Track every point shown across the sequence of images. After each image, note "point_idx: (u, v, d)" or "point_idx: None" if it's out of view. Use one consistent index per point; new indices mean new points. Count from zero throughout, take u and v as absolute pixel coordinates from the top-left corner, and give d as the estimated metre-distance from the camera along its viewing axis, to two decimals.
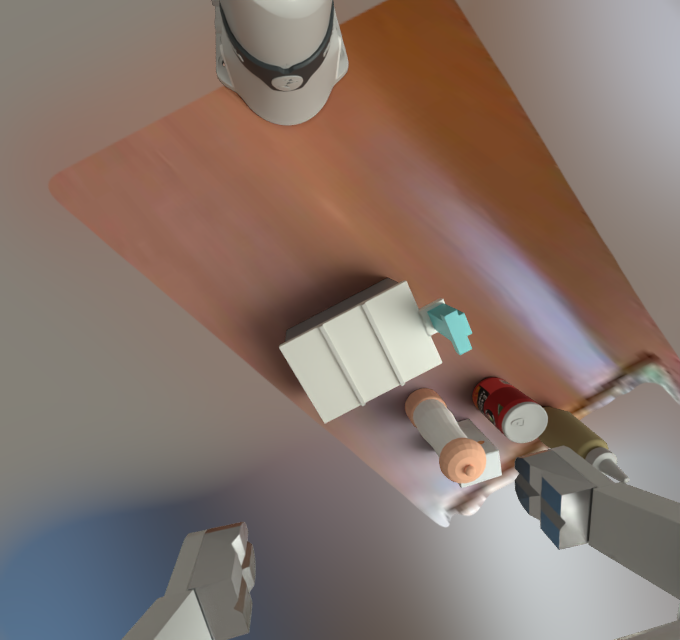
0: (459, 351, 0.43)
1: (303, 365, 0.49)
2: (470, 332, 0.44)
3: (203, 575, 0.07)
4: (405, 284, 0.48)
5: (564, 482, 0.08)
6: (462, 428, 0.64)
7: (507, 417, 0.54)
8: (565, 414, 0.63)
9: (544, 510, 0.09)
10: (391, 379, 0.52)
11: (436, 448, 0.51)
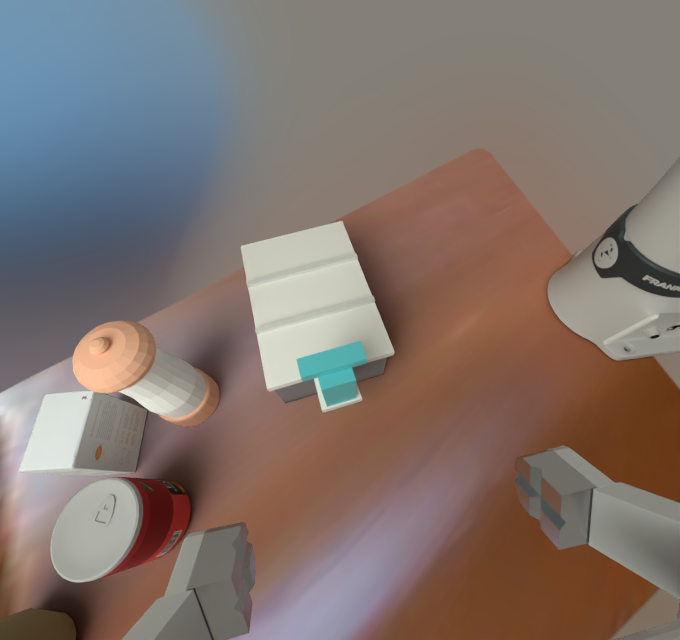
0: (302, 358, 0.29)
1: (315, 237, 0.46)
2: (323, 387, 0.29)
3: (203, 575, 0.07)
4: (390, 350, 0.37)
5: (564, 482, 0.08)
6: (128, 448, 0.40)
7: (129, 485, 0.30)
8: None
9: (544, 510, 0.09)
10: (267, 320, 0.40)
11: None
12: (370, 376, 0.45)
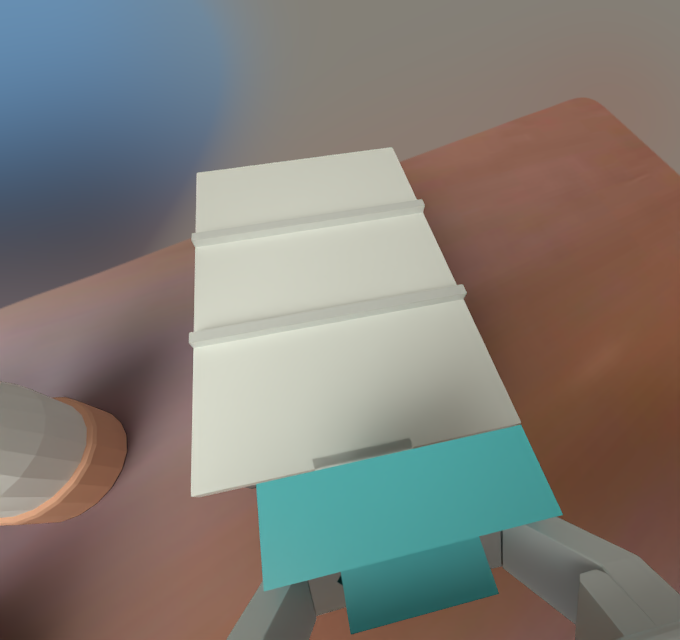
0: (281, 484, 0.07)
1: (341, 169, 0.24)
2: (359, 619, 0.07)
3: None
4: (510, 418, 0.15)
5: None
6: None
7: None
8: None
9: None
10: (222, 317, 0.18)
11: None
12: None
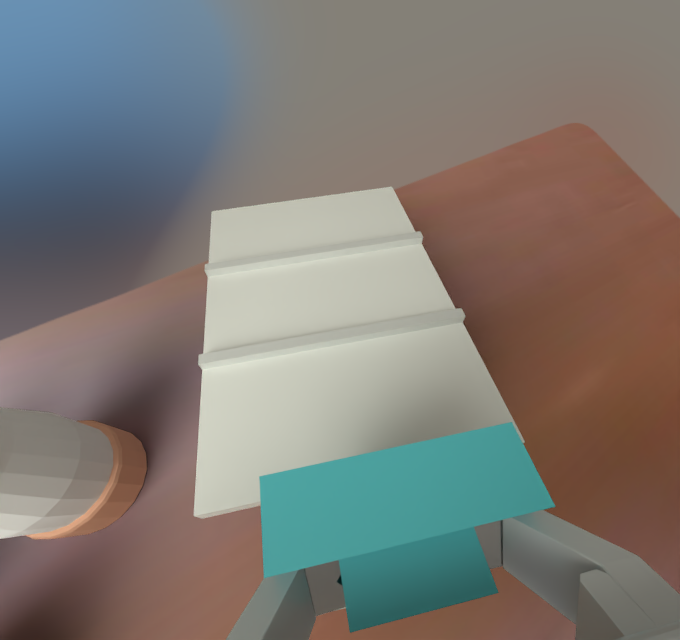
0: (282, 476, 0.07)
1: (345, 206, 0.26)
2: (358, 618, 0.07)
3: None
4: None
5: None
6: None
7: None
8: None
9: None
10: (231, 340, 0.19)
11: None
12: None
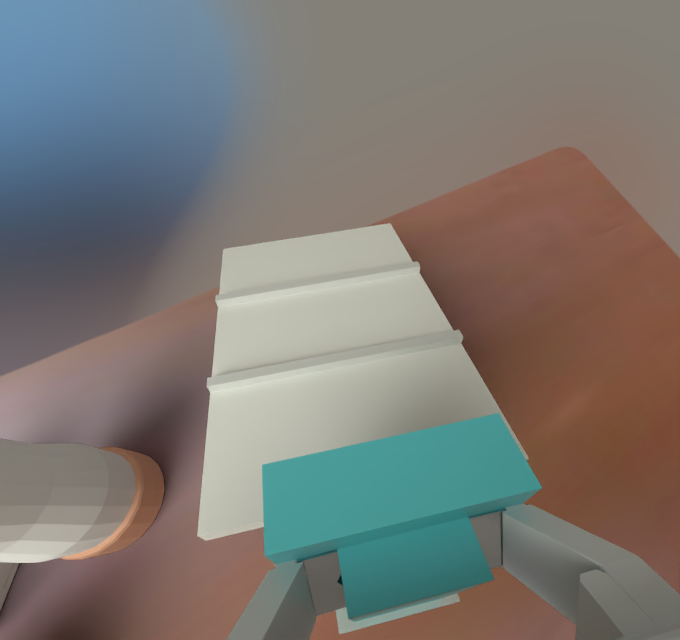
0: (283, 465, 0.08)
1: (346, 241, 0.28)
2: (356, 604, 0.07)
3: None
4: None
5: None
6: None
7: None
8: None
9: None
10: (238, 364, 0.19)
11: None
12: None
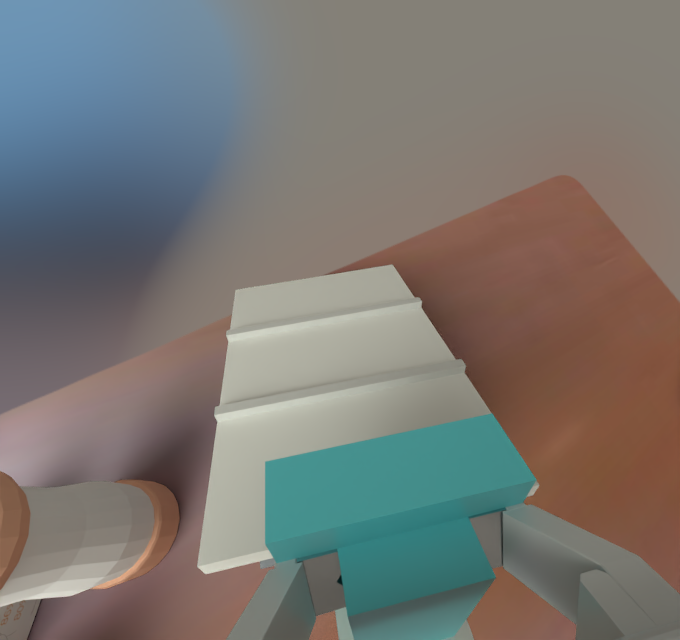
0: (285, 462, 0.08)
1: (351, 281, 0.29)
2: (356, 602, 0.07)
3: None
4: None
5: None
6: (7, 629, 0.23)
7: None
8: None
9: None
10: (246, 395, 0.20)
11: (34, 488, 0.18)
12: None
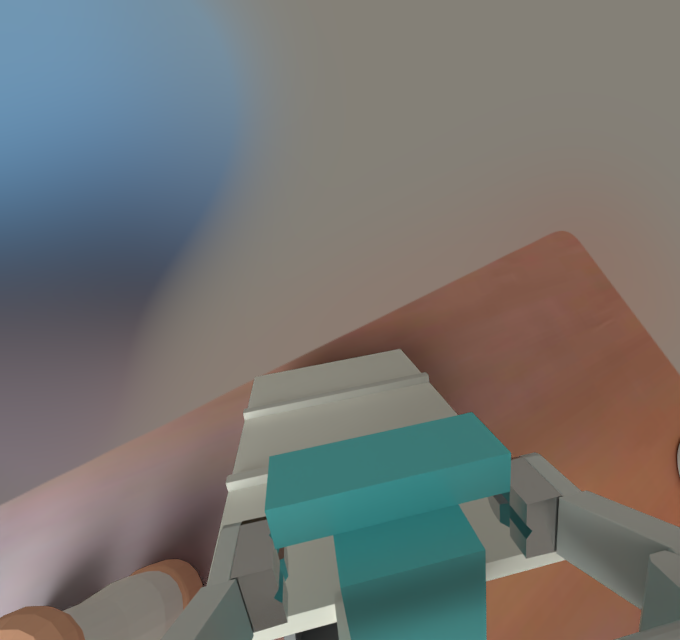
0: (287, 456, 0.09)
1: (362, 364, 0.31)
2: (349, 576, 0.07)
3: (244, 565, 0.07)
4: None
5: (530, 490, 0.08)
6: None
7: None
8: None
9: (512, 518, 0.09)
10: (258, 466, 0.20)
11: (83, 610, 0.20)
12: None
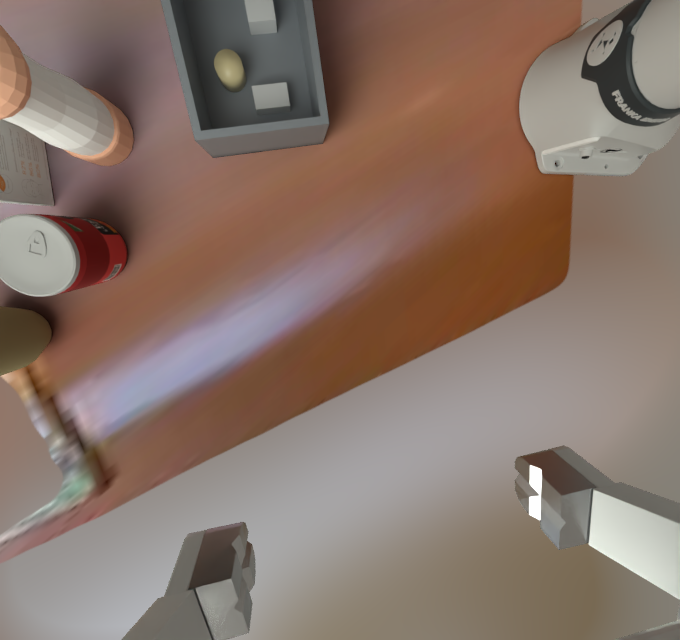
0: None
1: None
2: None
3: (203, 575, 0.07)
4: None
5: (564, 482, 0.08)
6: (36, 180, 0.37)
7: (54, 225, 0.31)
8: (32, 350, 0.39)
9: (544, 510, 0.09)
10: None
11: None
12: (308, 144, 0.41)
